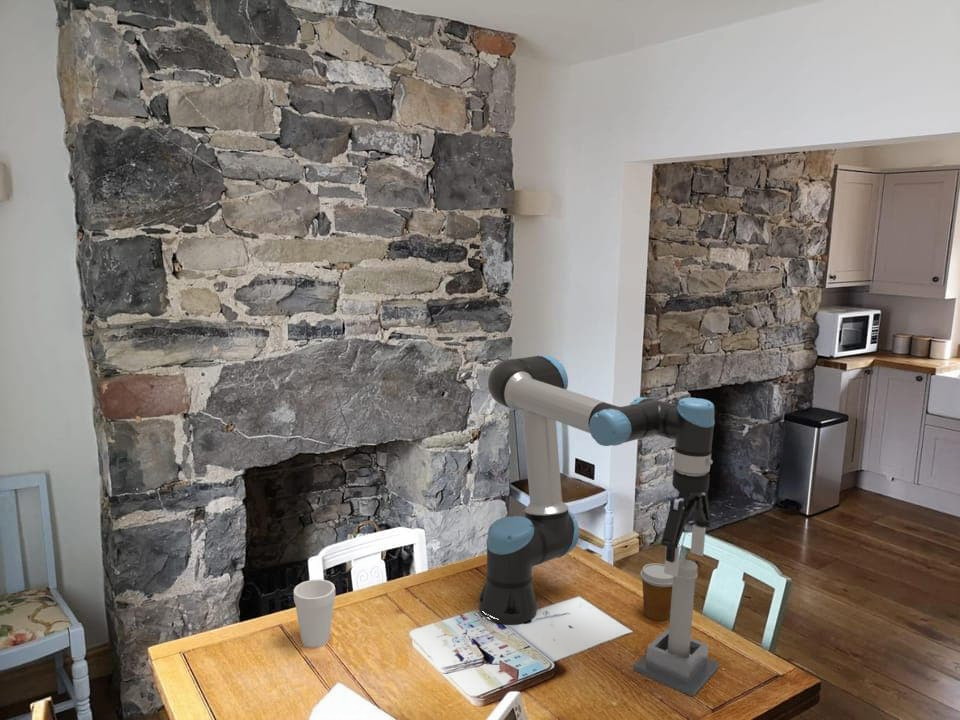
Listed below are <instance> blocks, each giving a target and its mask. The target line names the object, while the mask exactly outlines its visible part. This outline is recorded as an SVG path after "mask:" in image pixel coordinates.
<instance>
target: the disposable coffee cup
mask: <svg viewBox="0 0 960 720" xmlns="http://www.w3.org/2000/svg"><path fill="white" fill-rule="evenodd" d="M664 567H665V563H664V564H663V563H655V562H654V563H648V564H645V565H644V566H643V567H642V569H641V571H640V577H641V579H642V580H641V581H642V596H643V597H642V598H643V613H644V615H645V616H646V617H647V618H648V619H650V620H654V621H666V620H668V619H670V612H671V599H672V585H673V576H671V575H668V574H665V573H664Z"/></svg>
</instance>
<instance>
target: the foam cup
mask: <svg viewBox="0 0 960 720" xmlns="http://www.w3.org/2000/svg"><path fill="white" fill-rule="evenodd" d="M335 599H336V587H335V584H334V583H333V582H331V581H330V580H326V579H309V580H306V581H302V582H300V583H299V584H297V585H296V586H295V587H294V589H293V601H294V602H293V603H294V604H295V610H296V616H297V622H298V628H299V633H300V635H299V636H300V639H301V640H300V641H301V643H302V645H303V646H304V647H306V648H310V649H313V648H320V647H323V646H325V645H327V643H328V642H329V640H330V635H331V627H332V622H333V621H332V619H333V611H334V605H335Z"/></svg>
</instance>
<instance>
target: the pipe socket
mask: <svg viewBox="0 0 960 720" xmlns="http://www.w3.org/2000/svg"><path fill="white" fill-rule="evenodd" d="M668 639H669V628H666V629H665V630H663V631H662V632H661V633H660V634H659V635H658V636H657V637H656V638H655V639H654V640H653V641H651V642H650V643H649V644H648V645H647V647H646V653H645V654H644V655H643V656H642V657H640V658H639V660H637V662H635V663H634V664H633V668H632V669H633V672H636V673H639V674H641V675H643V676H645V677H646V678H647V677H648V678H650V679H652V680H654V681H656V682H659V683H660V684H663V685H665V686H668V687H670V688H672V689H674V690H677V691H679V692H681V693H683V694H686V695H688V696H690V697H692V698H694V696H695V695H696V694H697V693H698V692H699V691H700V690H701V689H702V687H703V686H704V685H705V684H706V683H707V682H708V681H709V680H710V678H711V677H712V676H713V675H714V674H715V672H716V671H717V670H718V669H719V667H720V663H719V661H716V660H714V659H711V658H708V654H709V644H707V643H705V642H703V641H700V640H697V639H696V638H692V637H691V639H690V652H689V653H690V654H691V656H690V657H689V658H688V659H687V660H686V659H684V658H682V657H679V656H677V655H674V654H672V653H669V652H667V651H666V650H667V649H668Z"/></svg>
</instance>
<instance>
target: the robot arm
mask: <svg viewBox="0 0 960 720" xmlns="http://www.w3.org/2000/svg"><path fill="white" fill-rule="evenodd" d="M568 378H569V377H568V373H567V371H566V369H565V367H564V365H563V364H562V363H561V362H560V361H559V360H558V359H557V358H556V357H554V356H551V355H535V356H528V357H527V356H525V357H521V358H512V359H511V358H510V359H509V358H508V359H506V360H503V361H501V362H499V363H496V365H495V366H494V367H493V368H492V369H491V371H490V372H489V377H488V380H487V383H488V384H487V387H488V391H489V393H490V395H491V397H492V398H493V399H494V401H496V402H497V403H498V404H499V405H502V406H504V407H506V408H509V409H512V410H517V411H519V412H520V413H521V414H522V416H523V429H524V441H525V442H524V443H525V455H526V468H527V480H528V484H527V485H528V495H529V496H528V497H529V503H528V505H527V506H526V507H525V508H524V516H520V515H513V516H504V517H501V518H499V519H496V520H495V521H493V522H492V523H491V524H490V526H489V527H488V530H487V539H486V575H485V576H486V579H485V582H484V585H483V588H482V589H481V593H480V595H479V598H478V611H479V613H480V615H482V617H484V618H485V619H487V618H486V617H489V616H487V615H485V614H484V613H483V612H482V611H484V612H485V613H487V614H489V615H491V616H493V617H495V618H498V619H499V620H497V619H493V618H491V617H489V618H490V619H491V620H492V621H491V620H490V621H491V622H493V621H494V622H493V623H498V624H502V625H503V624H504V625H518V624H523V623H525V622H529V621H531V620H532V619H533V618H534V617H536V615H537V613H538V600H537V597H536V594H535V590H534V586H533V583H532V577H533V576H532V573H533V572H532V571H533V567H535V566H537V565H538V566H539V565H541V564H543V563H546V562H549V561H551V560H554V559H558V558H559V559H560V558H562V557H563V556H565V555H567V554H569V553H571V552H572V551H573V550H574V549H575V548H576V546H577V544H578V541H579V539H580V527H579V523H578V521H577V520H576V519H575V515H574V514H573V513H572V512H571V511H570V510H569V506H568V505H567V504H565V502H564V501H563V497H562V484H561V473H560V471H561V470H560V455H559V443H558V430H557V429H558V428H557V422H558V423H561V424H564V425H566V426H569V427H572V428H575V429H577V430H580V431H582V432H586V433H589V435H591V437H592V439H594V441H595V442H596V443H597V444H598V445H599V446H603V447H610V446H619V445H622V444H624V443H628V442H631V441H636V440H641V439H645V438H648V437H653V436H660V437H663V438H667V439H670V440H674V441H675V442H674V452H673V453H674V455H673V463H672V464H673V468H674V469H673V471H672V483H671V485H672V487H673V488H674V489H675V490H677V492H678V495H677V498H671V500H670V506H669V512H668V516H667V518H666V519H667V520H666V522H665V526H664V530H663V534H662V536H661V537H662V538H661V542H660V545H661V546H665V557H664V565H665V567H664V573H665V574H668V575H671V576H674V577H677V576H678V563H679V559H680V549H681V547H680V546H679V545H678V544H680V542H681V541H680V540H681V537H682V535H683V533H684V530H685V527H686V524H687V521H689V520H690V519H691V518H692V520H693V521H694V522H693V523H694V524H693V525H692V530H691V543H690V544H691V545H690V553H691V554H695V555H697V556H701V557H702V556H704V551H705V542H706V540H705V539H706V538H705V537H706V529H707V528H711V522H710V521H711V519H712V518H711V517H712V516H711V512H710V504H709V497H708V490H709V488H710V477H711V475H710V473H709V472H711V471H710V469H711V465H712V464H713V462H714V461H713V459H712V449H713V447H712V444H713V438H714V427H715V423H716V421H715V405H714V403H713V402H711V401H710V400H708V399H705V398H696V397H685V398H684V397H682V398H680V399H679V400H678V403H677V404H675V403H670V402H667V401H662V400H659V399H656V398H652V397H642V396H640V397H636V398H635V399H634V400H632V402H630V403H629V405H624V406H618V405H614V404H612V403H609V402H608V403H607V402H605V401H602V400H599V399H596V398H593V397H590V396H588V395H587V396H586V395H583V394H580V393H577V392H575V391H571V390H568V386H569V379H568Z"/></svg>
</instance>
